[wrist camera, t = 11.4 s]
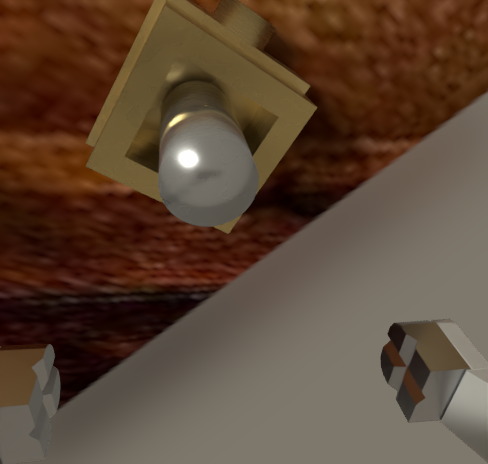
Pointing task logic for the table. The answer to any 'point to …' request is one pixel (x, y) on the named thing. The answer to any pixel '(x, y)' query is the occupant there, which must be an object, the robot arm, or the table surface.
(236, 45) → the valve body
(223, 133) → the silver metal cylinder
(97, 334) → the table surface
